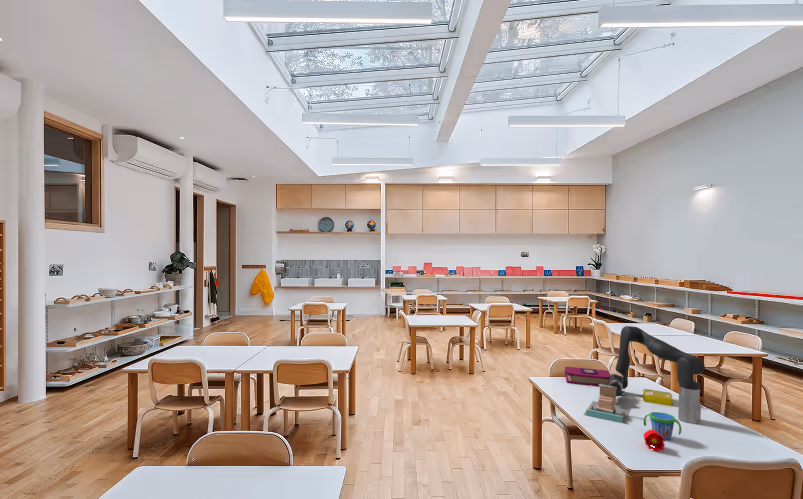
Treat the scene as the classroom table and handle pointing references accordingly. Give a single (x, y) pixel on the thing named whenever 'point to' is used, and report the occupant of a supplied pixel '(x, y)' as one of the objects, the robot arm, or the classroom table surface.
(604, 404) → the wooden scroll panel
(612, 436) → the classroom table surface
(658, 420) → the snack cup
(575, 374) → the book
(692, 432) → the classroom table surface
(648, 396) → the element tile
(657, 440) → the flower
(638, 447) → the classroom table surface
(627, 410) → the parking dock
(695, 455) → the classroom table surface
